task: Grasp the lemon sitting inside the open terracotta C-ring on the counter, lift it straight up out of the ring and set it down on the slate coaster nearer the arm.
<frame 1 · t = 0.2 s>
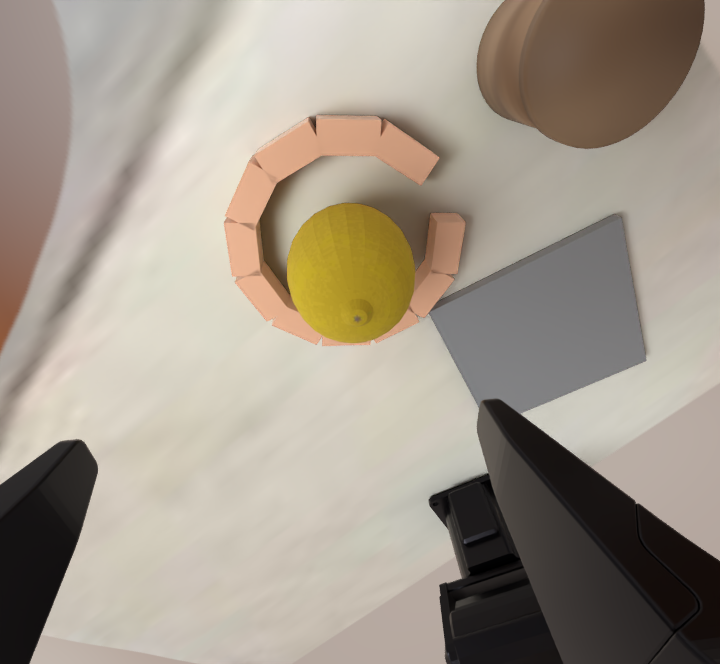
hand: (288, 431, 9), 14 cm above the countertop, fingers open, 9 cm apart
slate coaster: (540, 332, 26), on the countertop
c ring: (345, 238, 22), on the countertop
walnut salt pot: (534, 56, 18), on the countertop
lemon: (345, 237, 22), resting in c ring
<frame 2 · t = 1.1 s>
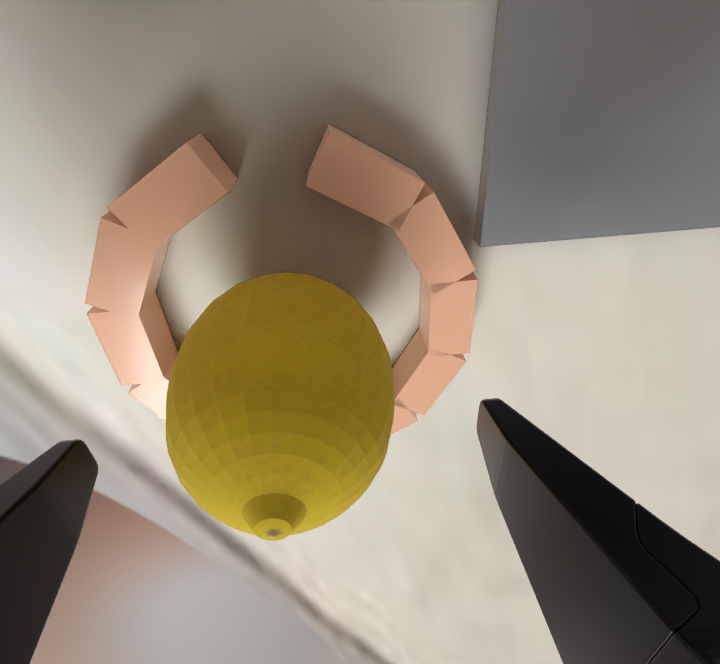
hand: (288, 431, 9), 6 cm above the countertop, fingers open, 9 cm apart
slate coaster: (710, 13, 10), on the countertop
c ring: (294, 310, 14), on the countertop
lemon: (295, 307, 14), resting in c ring
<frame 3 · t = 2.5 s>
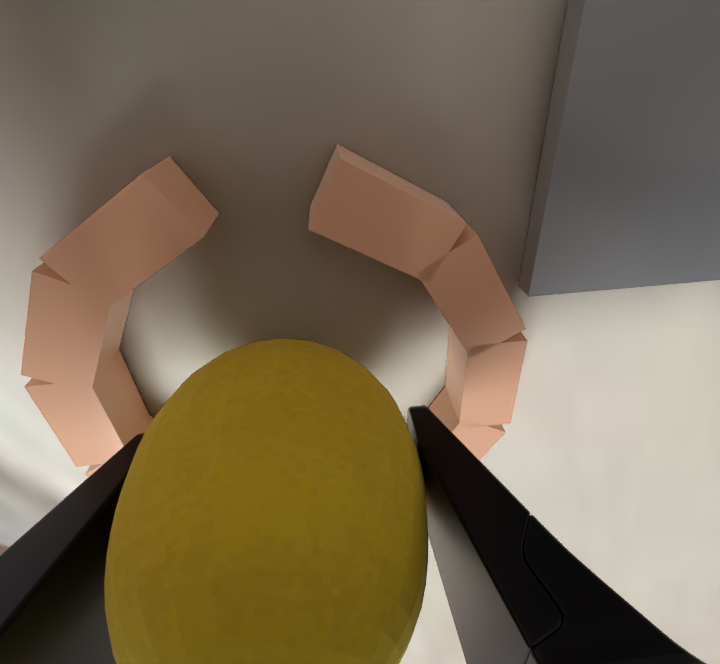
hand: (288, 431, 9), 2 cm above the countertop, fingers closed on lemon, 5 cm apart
c ring: (293, 368, 11), on the countertop
lemon: (293, 364, 12), resting in c ring, touching gripper
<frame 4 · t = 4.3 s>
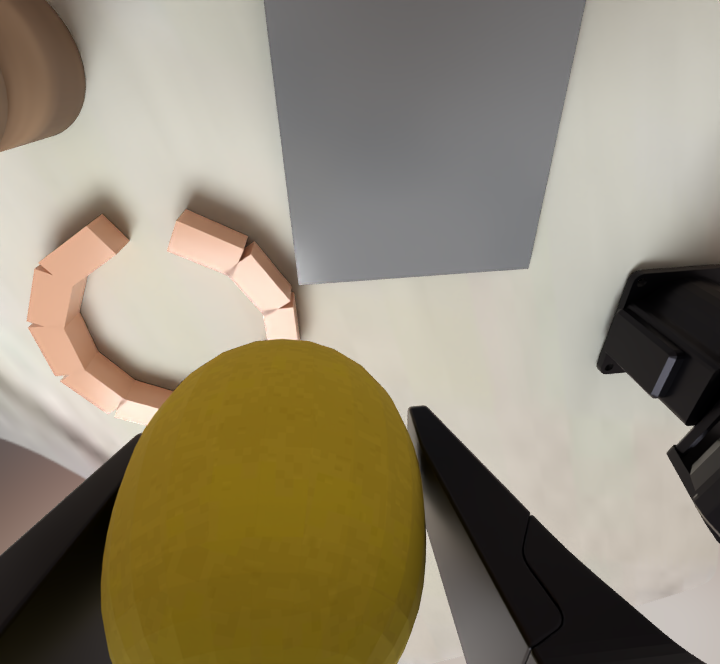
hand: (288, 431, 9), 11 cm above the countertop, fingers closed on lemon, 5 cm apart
slate coaster: (418, 148, 17), on the countertop
c ring: (180, 325, 20), on the countertop
walnut salt pot: (3, 58, 14), on the countertop
lemon: (292, 364, 12), point 9 cm above the countertop, touching gripper
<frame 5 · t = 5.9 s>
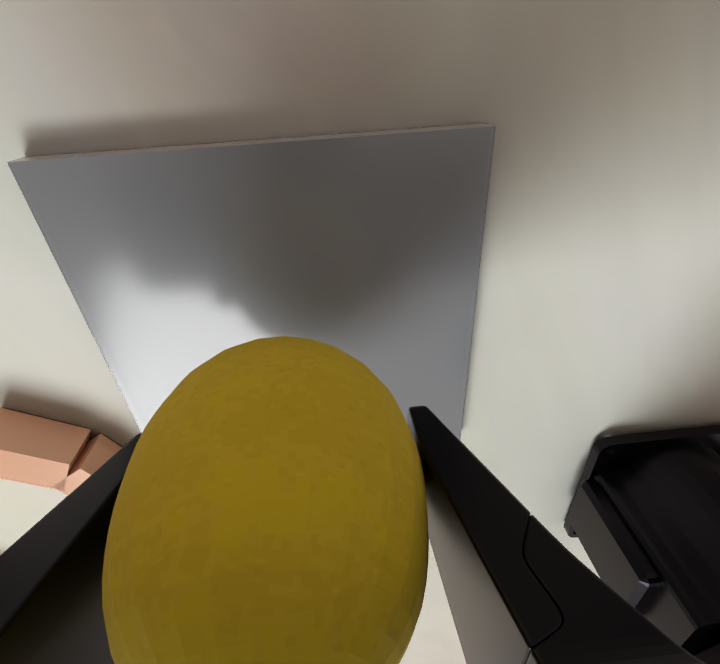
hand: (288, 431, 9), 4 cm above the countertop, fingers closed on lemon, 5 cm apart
slate coaster: (293, 331, 13), on the countertop
c ring: (32, 514, 17), on the countertop
lemon: (293, 362, 12), point 2 cm above the countertop, touching gripper
when the fingers open (4 cm above the countertop, at t = 6.5 s): lemon drops 1 cm, resting on slate coaster.
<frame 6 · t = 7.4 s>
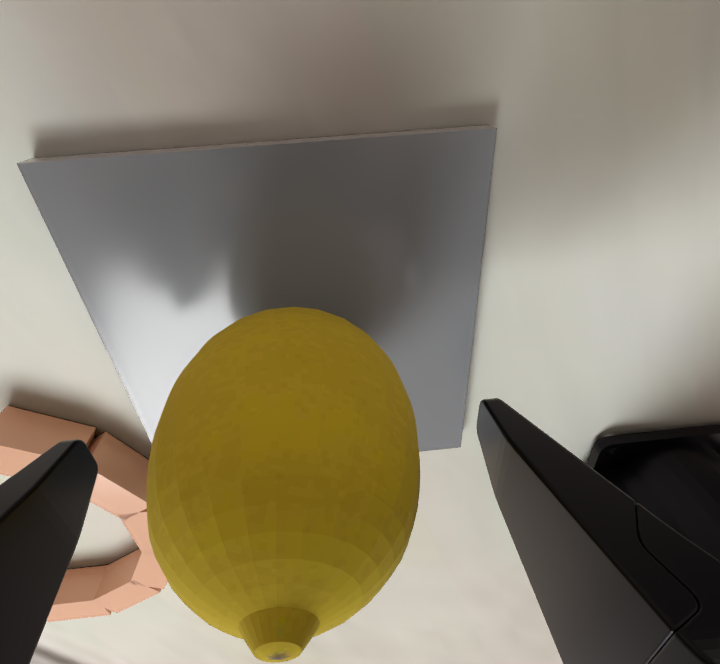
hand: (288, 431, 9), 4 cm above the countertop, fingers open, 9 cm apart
slate coaster: (296, 331, 13), on the countertop
c ring: (37, 512, 17), on the countertop
lemon: (299, 337, 13), resting on slate coaster
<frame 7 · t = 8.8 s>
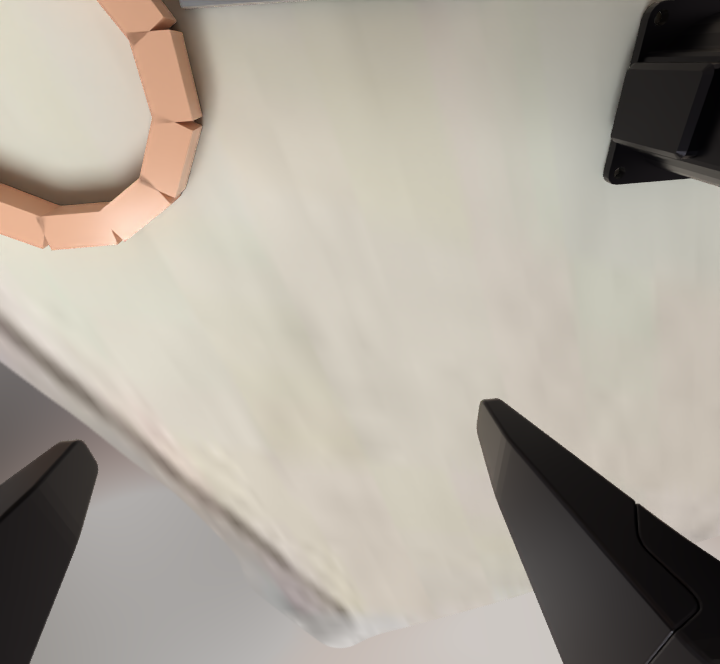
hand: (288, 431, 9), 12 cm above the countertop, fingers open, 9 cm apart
c ring: (38, 87, 15), on the countertop
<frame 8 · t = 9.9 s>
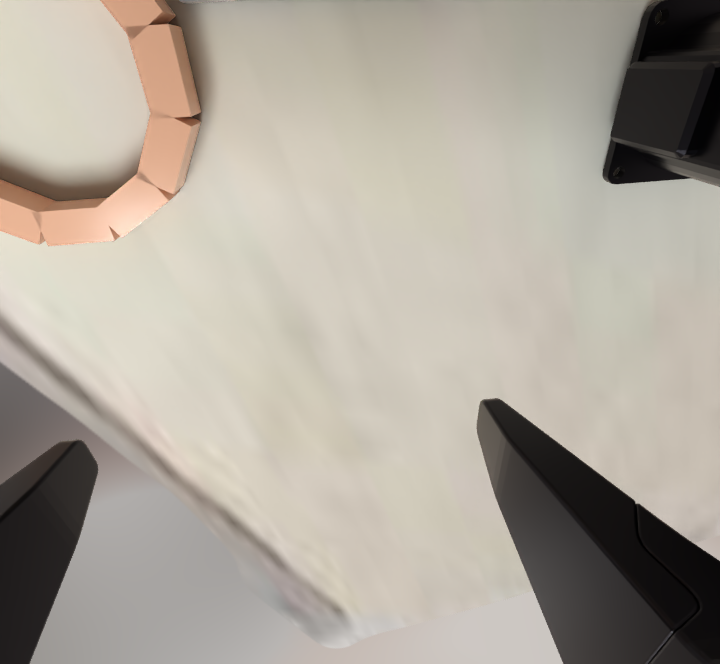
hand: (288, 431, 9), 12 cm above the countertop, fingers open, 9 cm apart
c ring: (35, 81, 15), on the countertop
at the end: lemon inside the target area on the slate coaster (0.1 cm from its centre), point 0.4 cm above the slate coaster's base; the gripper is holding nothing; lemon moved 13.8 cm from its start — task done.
